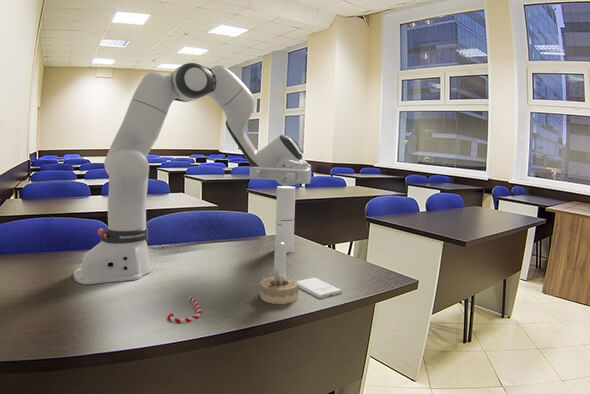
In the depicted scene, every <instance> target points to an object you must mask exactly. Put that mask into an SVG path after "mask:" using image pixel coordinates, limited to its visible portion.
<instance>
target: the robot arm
mask: <svg viewBox="0 0 590 394" xmlns="http://www.w3.org/2000/svg"><path fill="white" fill-rule="evenodd" d="M205 96H208V97H209V98H211V99H212V100H214V102H216V103H217V105H218V106H219V107H220V108H221V110H222V111H223V113H224V114H225V117H226V121H225V126H226V129H227V130H228V133H229V134H230V136H231V138H232V139H233V141H234V143H235V144H236V145H237V146H238V148H239V149H240V151H241V153H242V154H243V155H244V157H245V159H246V160H247V162H248V164H249V166H250V168H249V178H251V179H258V180H259V179H260V180H271V181H272V180H273V181H276V182H277V184H279V185H280V186H294V185H306V184H307V185H308V184H311V180H312V165H311V164H309V163H308V161H306V160H305V159H304V158H303V152H302V149H301V147H300V145H299V144H298V143H297V141H296V140H295V139H294V138H292V137H290V136H288V135H283V134H280V135H279V136H277V137H276V138H275V139H273V140H272V141H270V143H268V144H266V145H265V146H264V147H263V148H261V150H258V149H256V147H255V146H254V144H253V142H252V141H251V139H250V138H249V136H248V135H247V133H246V130H245V129H246V125H247V124H248V122H249V120H250V118H251V116H252V114H253V113H254V109H255V106H256V105H255V98H254V96H253V93H252V92H251V90H250V89H249V88H248V87H247V86H246V85H245V83H244V82H243V81H242V80H241V79H240V78H239V77H238V76H237V75H235V73H233V71H231V70H230V69H229V68H227V66H224V65H222V64H218V65H214V66H212V67H210V68H209V67H206V66H204V65H202V64H199V63H197V62H187V63H185V64H182V65H181V66H179V67H177V68H176V69H175V70H174V71H172V73H170V74H169V75H165V74H162V73H160V72H156V71H155V72H154V71H153V72H148V73H146V74H145V75H144V76H143V78H142V79H141V80H140V82H139V84H138V85H137V88H136V89H135V91H134V93H133V95H132V98H131V100H130V102H129V105H128V108H127V109H126V113H125V115H124V117H123V121H122V123H121V125H120V126H119V129H118V131H117V132H116V135H115V136H114V138H113V141H112V142H111V145H110V147H109V149H108V150H107V151H108V152H107V154H106V157H105V159H104V165H103V166H104V170H105V171H106V172H105V173H106V174H107V176H108V196H107V197H108V198H107V226H108V227H107V228H106V229H103V228H98V230H97V235H99V236H100V237H101V241H100V242H99V243H97V244H96V245H95V246H93V247H92V248H91V249H89V250H88V251H87V252H85V254H84V255H83V257H82V260H81V261H82V262H81V268H77V269H76V270H75V271H74V272H73V279H74V281H75V282H77V283H79V284H82V285H93V284H94V285H95V284H102V283H104V284H105V283H114V282H124V281H134V280H135V281H136V280H139V279H140V278H142V277H143V276H145V275H147V274H149V273H151V272H152V270H153V267H152V263H151V260H150V255H149V250H148V245H149V244H148V243H149V229H148V226H147V195H148V187H149V186H148V185H149V172H150V163H149V161H148V159H147V157H148V156H149V155H148V154H149V153H150V151H151V150H152V147H153V146H154V144H155V143H156V141H157V139H159V136H160V132H161V130H162V128H163V125H164V122H165V120H166V118H167V115H168V113H169V110H170V107H171V105H172V103H173V102H174V101H175V102H176V101H177V102H181V103H182V102H183V103H185V102H187V103H188V102H193V101H197V100H198V99H200V98H202V97H203V98H204V97H205Z"/></svg>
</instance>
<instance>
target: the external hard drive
mask: <svg viewBox="0 0 590 394" xmlns="http://www.w3.org/2000/svg"><path fill="white" fill-rule="evenodd" d="M296 281H297V282H298V289H301V290H303V291H305V292H306V293H309V294H310V295H312V296H314V297H316V298H318V299H325V298H329V297H331V296H335V295H336V294H337V295H340V293H341V294H342V293H343V290H342V289H339V288H338V287H336V286H333V285H332V284H329V283H328V282H325V281H323V280H320V279H319V278H318V277H317V278H316V277H311V278H306V279H305V278H304V279H302V280H296Z"/></svg>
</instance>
